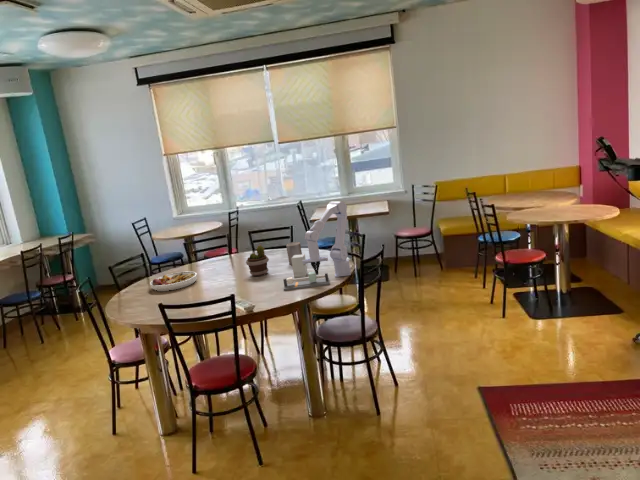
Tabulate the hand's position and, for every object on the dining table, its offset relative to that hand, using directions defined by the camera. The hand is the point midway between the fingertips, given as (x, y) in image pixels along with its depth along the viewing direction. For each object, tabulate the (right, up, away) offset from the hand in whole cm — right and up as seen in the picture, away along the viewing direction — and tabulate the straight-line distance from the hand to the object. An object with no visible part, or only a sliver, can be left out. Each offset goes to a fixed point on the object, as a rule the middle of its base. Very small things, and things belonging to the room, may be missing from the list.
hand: (317, 274), depth 295 cm
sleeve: (-3, -4, +1) cm, 4 cm away
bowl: (-94, -10, +45) cm, 105 cm away
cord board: (-6, -6, +1) cm, 9 cm away
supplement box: (-10, -3, +23) cm, 26 cm away
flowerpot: (-38, -3, +40) cm, 55 cm away
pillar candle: (-15, +4, +56) cm, 58 cm away
